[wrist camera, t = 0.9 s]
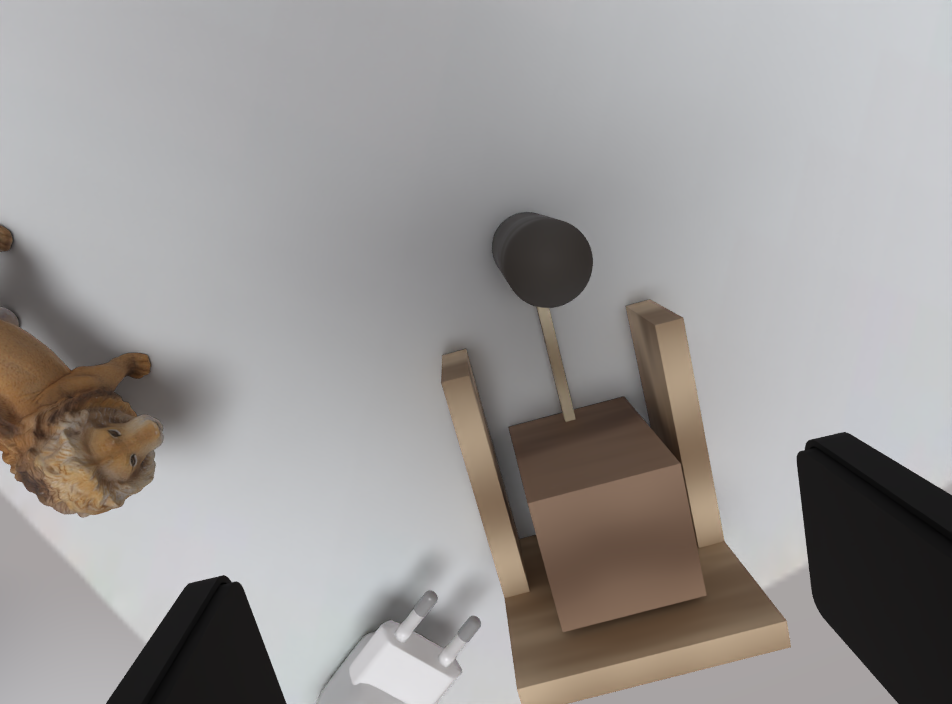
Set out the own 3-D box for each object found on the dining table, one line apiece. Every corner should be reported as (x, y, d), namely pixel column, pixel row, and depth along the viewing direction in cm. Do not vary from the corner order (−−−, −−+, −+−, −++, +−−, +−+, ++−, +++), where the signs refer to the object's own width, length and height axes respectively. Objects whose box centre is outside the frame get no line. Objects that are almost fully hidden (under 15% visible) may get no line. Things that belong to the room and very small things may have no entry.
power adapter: (417, 543, 33) (410, 615, 28) (492, 587, 34) (500, 667, 28) (305, 690, 35) (278, 786, 30) (378, 729, 36) (365, 829, 31)
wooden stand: (442, 355, 31) (439, 431, 21) (649, 299, 31) (742, 350, 21) (503, 563, 34) (524, 714, 24) (692, 514, 34) (790, 647, 24)
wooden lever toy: (455, 230, 29) (457, 245, 22) (580, 196, 29) (628, 198, 21) (536, 529, 33) (562, 632, 26) (646, 500, 33) (706, 595, 25)
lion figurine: (236, 389, 31) (153, 467, 22) (175, 466, 32) (71, 572, 23) (-41, 189, 28) (-261, 189, 19) (-100, 281, 29) (-337, 320, 20)
